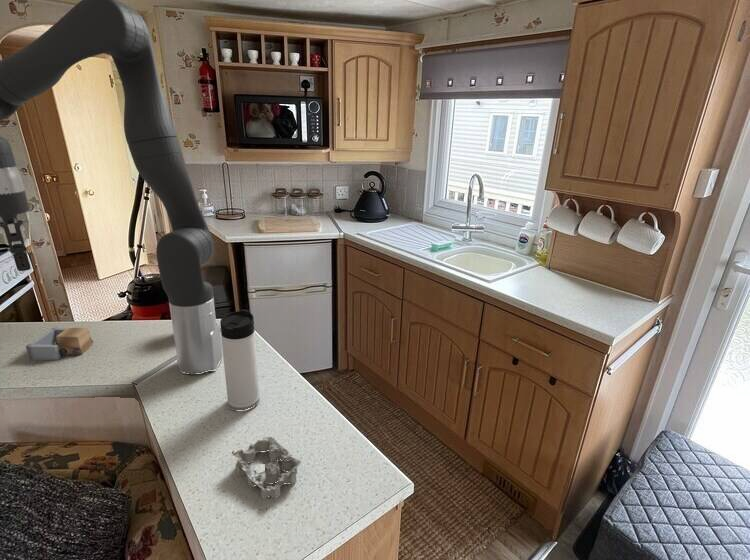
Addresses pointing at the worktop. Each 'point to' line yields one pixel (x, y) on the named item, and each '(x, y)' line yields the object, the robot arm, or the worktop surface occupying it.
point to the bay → (45, 346)
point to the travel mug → (240, 359)
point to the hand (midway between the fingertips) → (23, 265)
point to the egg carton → (268, 465)
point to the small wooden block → (74, 341)
